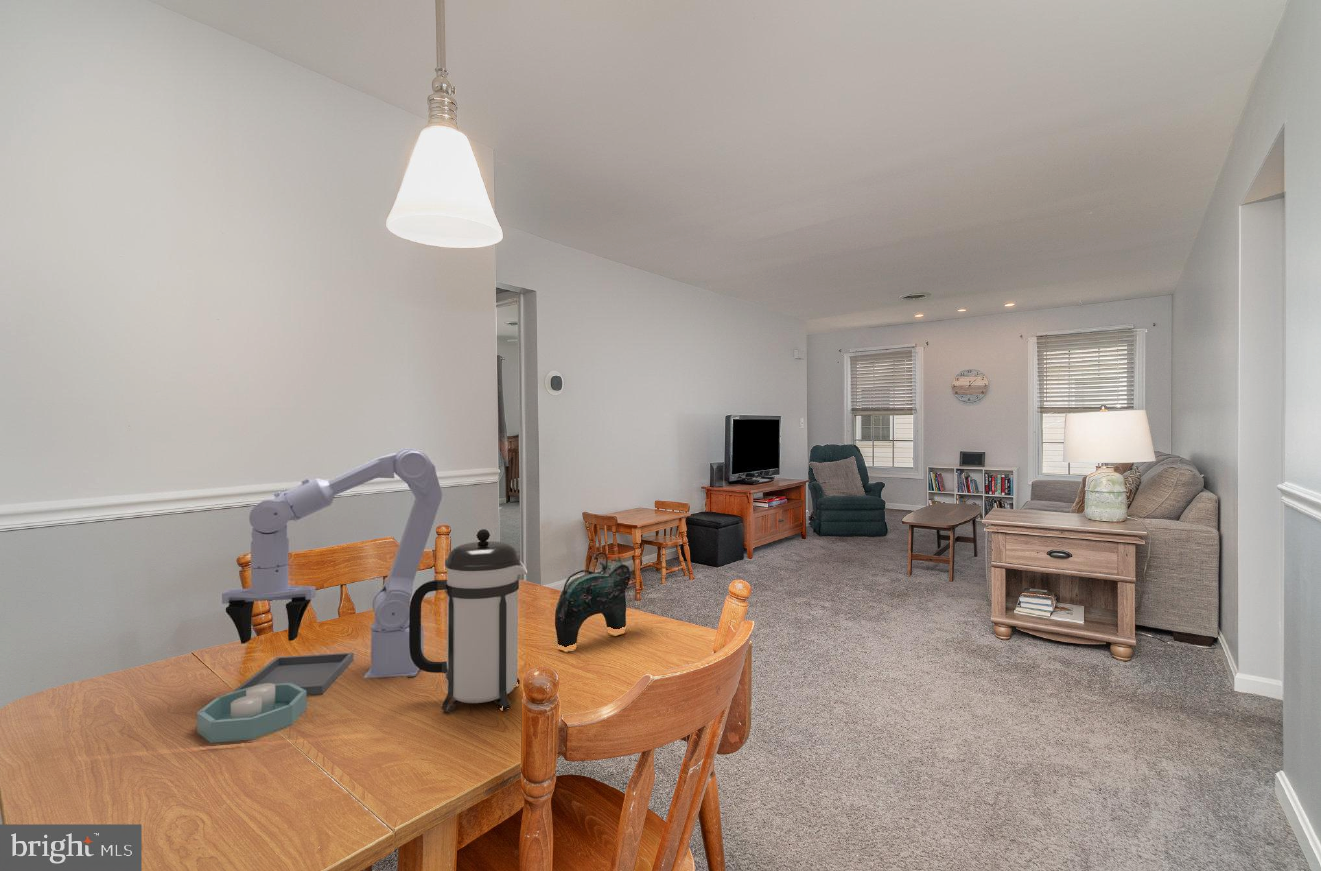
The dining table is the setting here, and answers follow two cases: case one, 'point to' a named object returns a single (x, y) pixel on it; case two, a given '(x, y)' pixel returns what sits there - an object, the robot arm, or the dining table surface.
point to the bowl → (222, 728)
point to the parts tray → (302, 671)
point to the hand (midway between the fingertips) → (269, 640)
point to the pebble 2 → (264, 695)
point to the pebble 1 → (246, 707)
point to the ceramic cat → (592, 600)
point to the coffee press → (475, 622)
